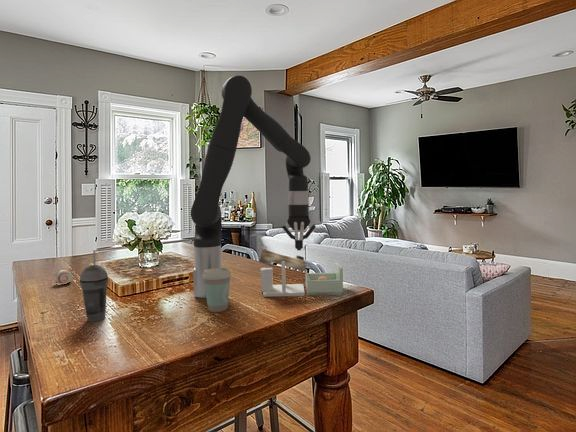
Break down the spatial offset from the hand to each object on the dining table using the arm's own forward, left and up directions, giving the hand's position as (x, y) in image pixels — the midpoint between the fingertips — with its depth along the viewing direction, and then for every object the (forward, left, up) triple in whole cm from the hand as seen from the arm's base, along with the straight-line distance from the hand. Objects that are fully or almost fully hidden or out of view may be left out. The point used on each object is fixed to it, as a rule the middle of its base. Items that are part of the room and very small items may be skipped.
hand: (299, 250), depth 135 cm
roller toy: (-96, +12, -14) cm, 97 cm away
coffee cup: (-26, -25, -14) cm, 39 cm away
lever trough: (-7, -4, -5) cm, 9 cm away
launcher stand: (-6, -7, -14) cm, 16 cm away
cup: (+8, -7, -14) cm, 17 cm away
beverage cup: (-59, -32, -14) cm, 69 cm away
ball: (+8, -7, -11) cm, 15 cm away
